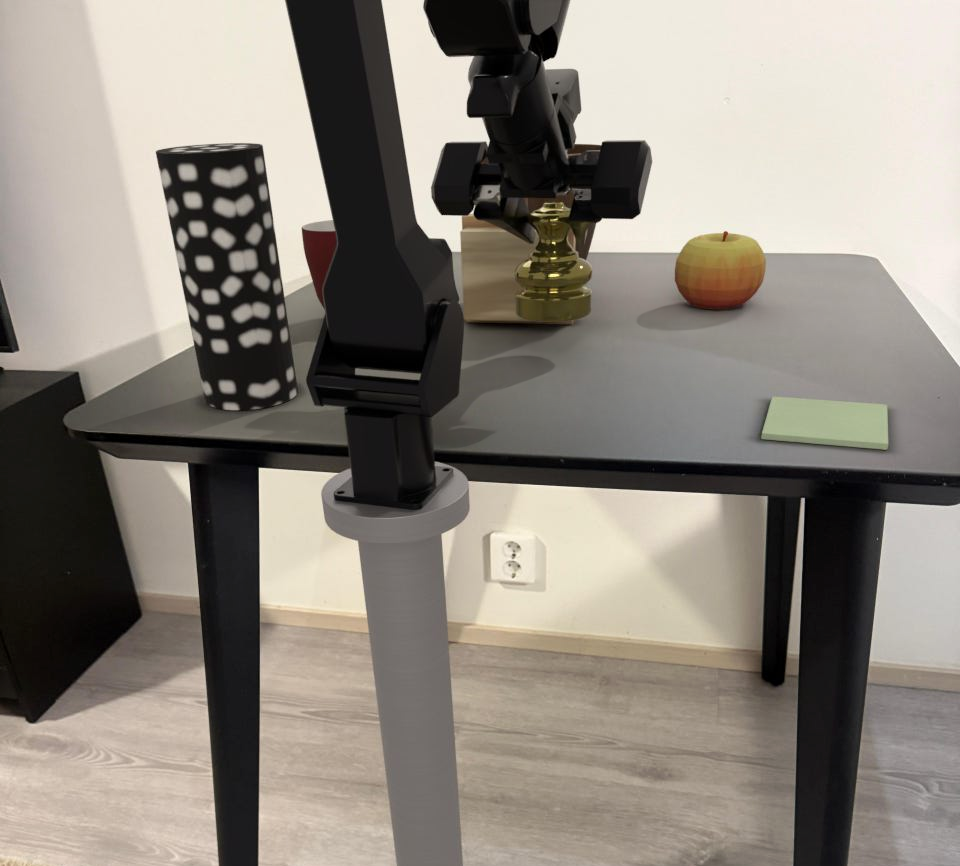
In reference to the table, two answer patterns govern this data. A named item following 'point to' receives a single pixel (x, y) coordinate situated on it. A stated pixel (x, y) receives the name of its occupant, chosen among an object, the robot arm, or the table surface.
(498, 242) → the wooden napkin holder
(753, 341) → the table surface
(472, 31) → the robot arm
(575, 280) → the brass chess piece
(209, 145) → the spotted tube
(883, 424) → the mat
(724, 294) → the apple
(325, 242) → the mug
